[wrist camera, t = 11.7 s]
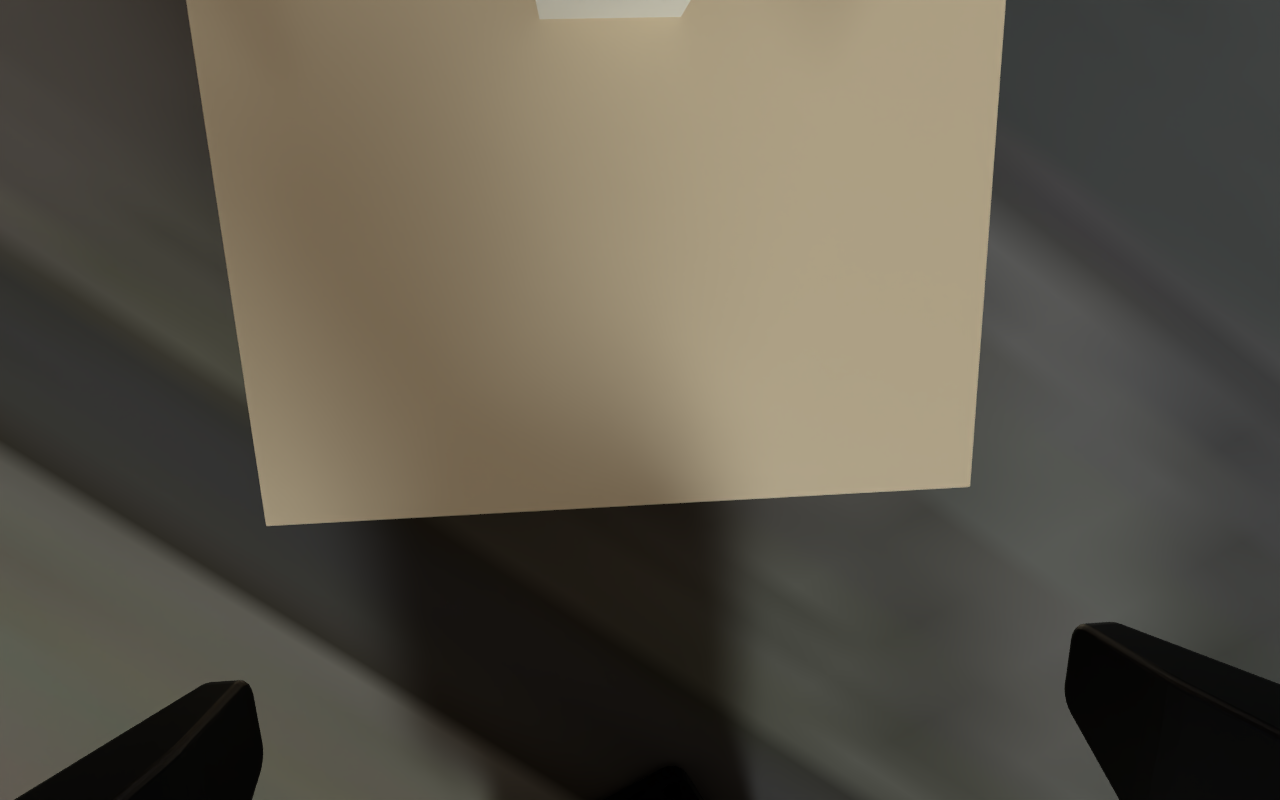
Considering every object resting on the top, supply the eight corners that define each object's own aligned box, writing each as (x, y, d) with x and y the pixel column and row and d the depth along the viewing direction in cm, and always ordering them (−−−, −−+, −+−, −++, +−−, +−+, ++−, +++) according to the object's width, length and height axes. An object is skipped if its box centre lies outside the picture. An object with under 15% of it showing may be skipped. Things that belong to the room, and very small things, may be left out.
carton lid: (957, 477, 18) (1169, 635, 11) (276, 514, 17) (94, 710, 10) (1002, -175, 15) (1326, -457, 8) (174, -173, 14) (-173, -490, 7)
